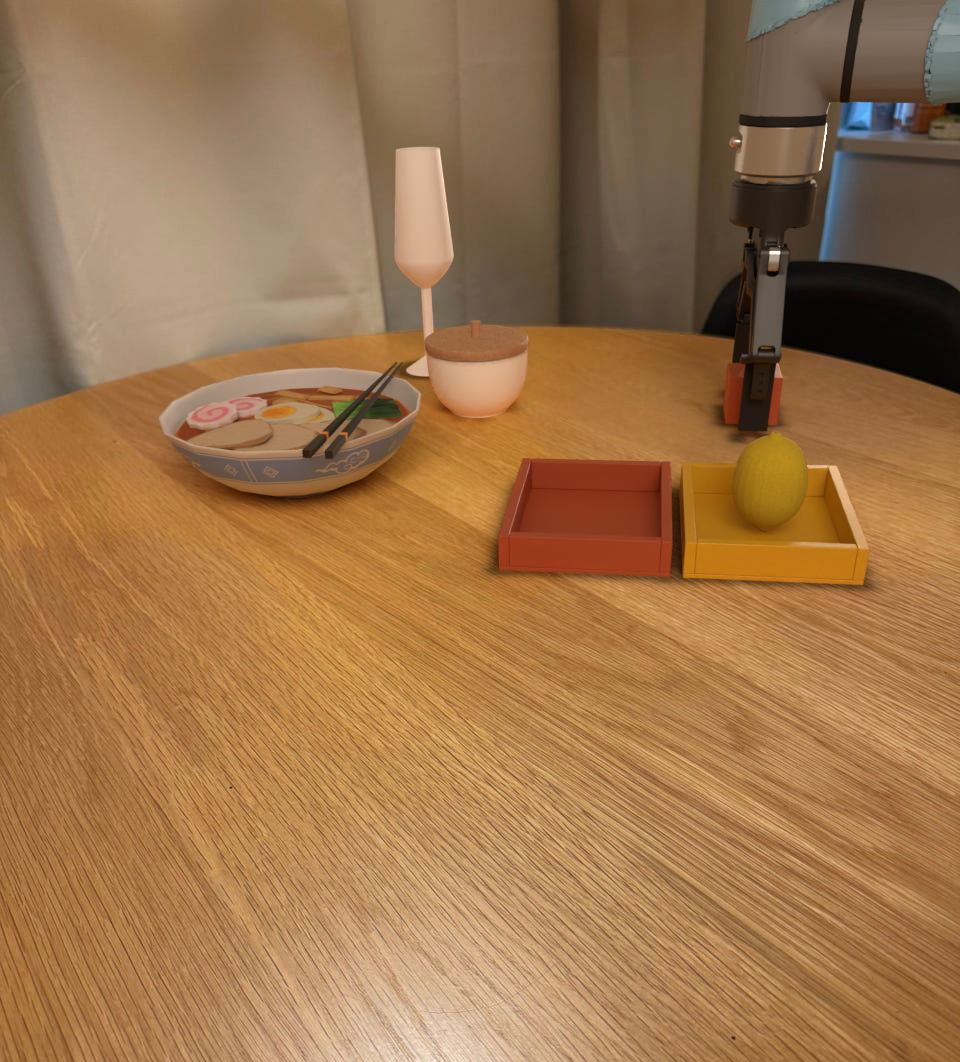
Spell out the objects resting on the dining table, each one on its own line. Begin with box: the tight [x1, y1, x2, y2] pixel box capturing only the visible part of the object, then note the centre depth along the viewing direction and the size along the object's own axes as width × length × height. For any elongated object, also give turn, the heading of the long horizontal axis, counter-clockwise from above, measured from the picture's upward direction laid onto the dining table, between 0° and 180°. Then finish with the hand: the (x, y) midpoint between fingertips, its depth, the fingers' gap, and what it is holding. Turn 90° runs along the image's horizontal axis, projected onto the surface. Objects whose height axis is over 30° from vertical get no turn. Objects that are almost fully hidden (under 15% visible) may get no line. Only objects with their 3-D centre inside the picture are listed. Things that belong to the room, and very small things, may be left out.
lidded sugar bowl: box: [423, 319, 530, 419], centre depth 105 cm, size 11×11×9 cm
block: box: [722, 362, 784, 426], centre depth 101 cm, size 5×5×5 cm
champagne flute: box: [393, 146, 455, 377], centre depth 114 cm, size 7×7×24 cm
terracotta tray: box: [497, 457, 674, 578], centre depth 80 cm, size 13×16×3 cm
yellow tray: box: [679, 461, 871, 586], centre depth 78 cm, size 13×16×3 cm
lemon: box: [732, 431, 808, 531], centre depth 76 cm, size 6×6×8 cm
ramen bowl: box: [157, 361, 422, 499], centre depth 89 cm, size 25×23×8 cm
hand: (747, 406), depth 102 cm, fingers open, 13 cm apart
